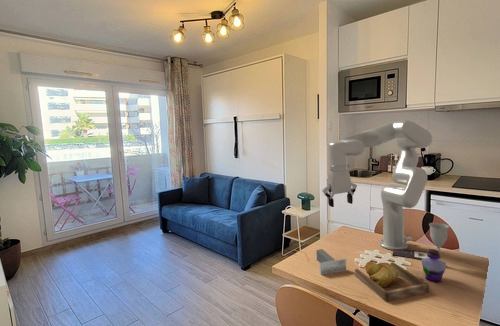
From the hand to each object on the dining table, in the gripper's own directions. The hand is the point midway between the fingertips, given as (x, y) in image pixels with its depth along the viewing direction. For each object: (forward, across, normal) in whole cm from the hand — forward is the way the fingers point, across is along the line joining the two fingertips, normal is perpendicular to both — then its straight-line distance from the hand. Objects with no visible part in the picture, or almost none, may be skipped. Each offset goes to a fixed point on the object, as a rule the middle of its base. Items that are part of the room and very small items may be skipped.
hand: (340, 204), depth 128 cm
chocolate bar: (+28, -32, +9) cm, 43 cm away
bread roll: (+27, -3, +23) cm, 36 cm away
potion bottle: (+27, -22, +28) cm, 45 cm away
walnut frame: (+26, -4, +25) cm, 36 cm away
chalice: (+28, -33, +20) cm, 48 cm away
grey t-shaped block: (+26, +11, +4) cm, 28 cm away
